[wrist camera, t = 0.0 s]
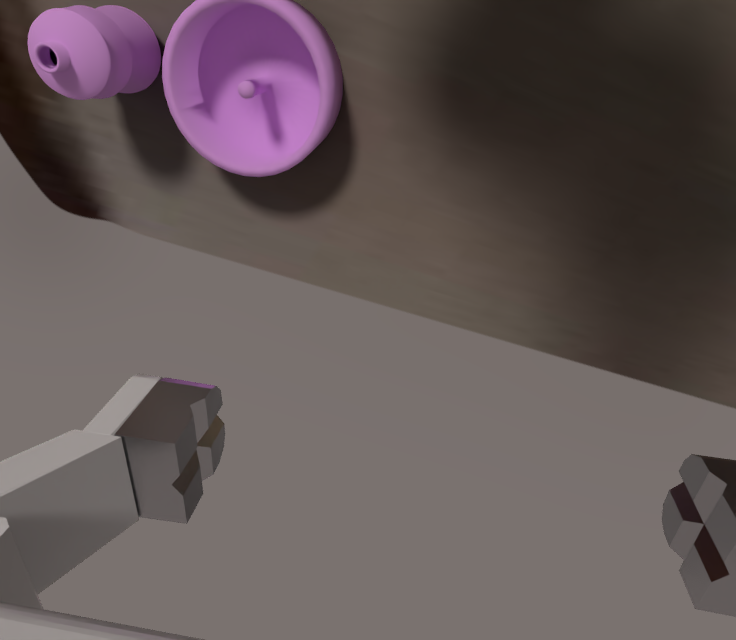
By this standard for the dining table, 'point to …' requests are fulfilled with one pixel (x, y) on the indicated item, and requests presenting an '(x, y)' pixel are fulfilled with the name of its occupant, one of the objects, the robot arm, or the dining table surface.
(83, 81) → the container set
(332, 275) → the dining table surface
